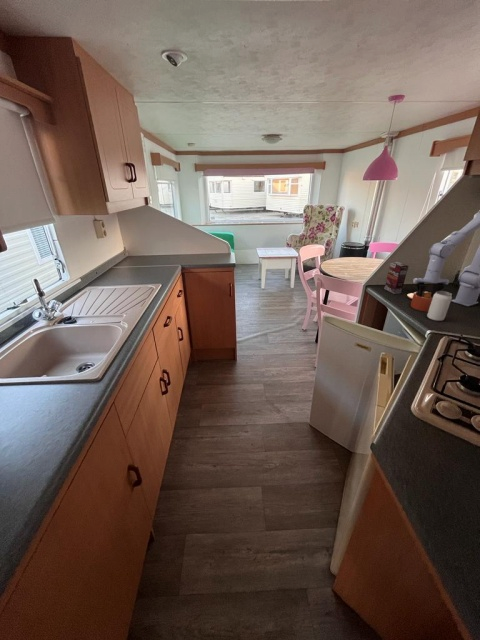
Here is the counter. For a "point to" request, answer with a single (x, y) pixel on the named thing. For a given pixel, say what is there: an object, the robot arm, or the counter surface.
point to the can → (439, 305)
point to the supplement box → (396, 277)
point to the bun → (426, 295)
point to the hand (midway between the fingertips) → (425, 297)
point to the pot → (420, 302)
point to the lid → (411, 295)
